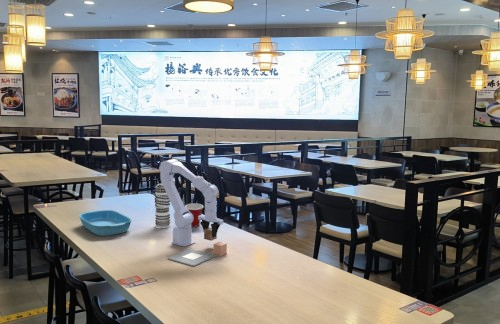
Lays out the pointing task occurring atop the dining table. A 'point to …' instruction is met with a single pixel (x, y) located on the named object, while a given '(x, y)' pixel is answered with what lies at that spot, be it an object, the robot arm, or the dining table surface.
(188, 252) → the board
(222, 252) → the terracotta block
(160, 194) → the white striped cylinder
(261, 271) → the dining table surface
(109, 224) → the casserole dish
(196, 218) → the plastic cup
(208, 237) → the walnut block
